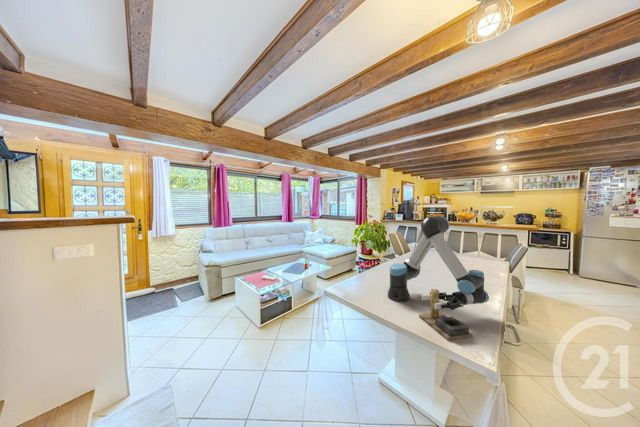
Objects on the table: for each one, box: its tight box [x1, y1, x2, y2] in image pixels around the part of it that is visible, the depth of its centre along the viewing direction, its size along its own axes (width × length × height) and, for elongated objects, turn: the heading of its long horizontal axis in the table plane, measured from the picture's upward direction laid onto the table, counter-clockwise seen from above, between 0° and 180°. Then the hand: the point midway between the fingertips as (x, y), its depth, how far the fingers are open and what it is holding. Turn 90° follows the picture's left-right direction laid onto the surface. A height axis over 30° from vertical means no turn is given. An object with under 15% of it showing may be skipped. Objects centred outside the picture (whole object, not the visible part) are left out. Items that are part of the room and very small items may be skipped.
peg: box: [430, 288, 440, 319], centre depth 120 cm, size 4×4×16 cm
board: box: [418, 311, 473, 341], centre depth 114 cm, size 22×14×5 cm, turn 10°
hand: (428, 301), depth 120 cm, fingers open, 10 cm apart
